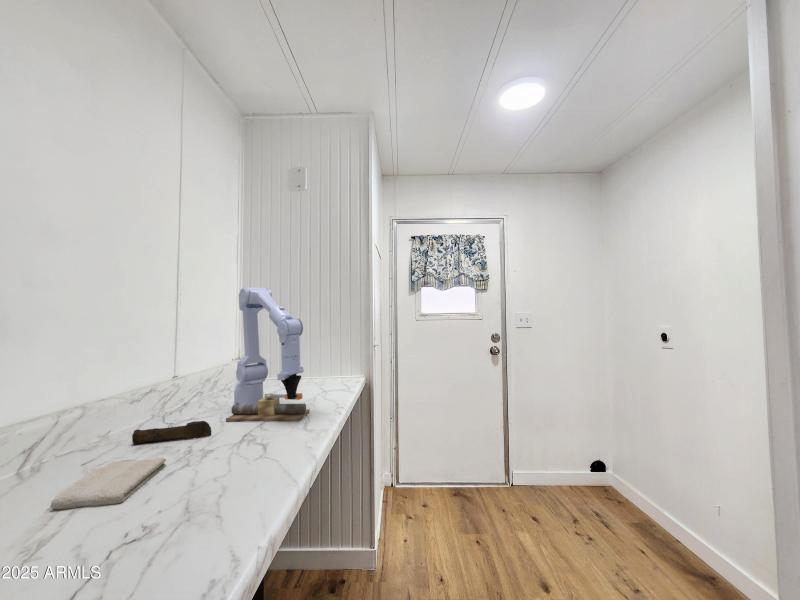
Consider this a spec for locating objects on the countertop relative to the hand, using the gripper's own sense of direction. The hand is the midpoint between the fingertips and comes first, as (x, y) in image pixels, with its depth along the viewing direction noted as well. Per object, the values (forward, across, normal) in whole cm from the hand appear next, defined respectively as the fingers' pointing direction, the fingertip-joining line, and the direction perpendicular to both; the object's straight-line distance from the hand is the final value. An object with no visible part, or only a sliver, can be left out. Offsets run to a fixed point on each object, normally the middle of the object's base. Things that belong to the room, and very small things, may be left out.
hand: (291, 398), depth 117 cm
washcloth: (+7, -46, +16) cm, 49 cm away
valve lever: (0, +2, +4) cm, 4 cm away
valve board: (+6, +2, +9) cm, 11 cm away
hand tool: (+7, -20, +26) cm, 33 cm away
